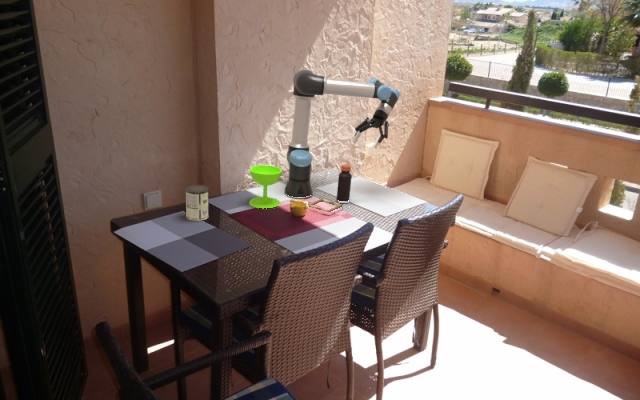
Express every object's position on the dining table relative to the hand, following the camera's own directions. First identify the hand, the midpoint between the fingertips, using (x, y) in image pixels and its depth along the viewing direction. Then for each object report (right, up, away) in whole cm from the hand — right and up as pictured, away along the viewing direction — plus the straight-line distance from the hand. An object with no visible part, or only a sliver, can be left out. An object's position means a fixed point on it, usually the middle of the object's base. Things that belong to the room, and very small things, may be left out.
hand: (364, 144), depth 273 cm
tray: (-21, -34, -13) cm, 42 cm away
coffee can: (-81, -37, -34) cm, 96 cm away
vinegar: (-12, -31, 0) cm, 33 cm away
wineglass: (-52, -31, -11) cm, 62 cm away
